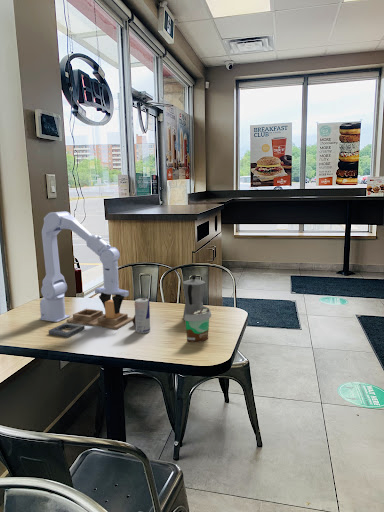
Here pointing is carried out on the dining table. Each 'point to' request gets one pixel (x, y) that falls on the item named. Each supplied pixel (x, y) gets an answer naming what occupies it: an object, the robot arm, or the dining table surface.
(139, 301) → the energy drink
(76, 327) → the metal socket
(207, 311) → the food container
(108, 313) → the orange peg
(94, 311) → the walnut rack
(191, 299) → the coffeepot
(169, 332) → the dining table surface
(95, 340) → the dining table surface
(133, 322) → the bolt
